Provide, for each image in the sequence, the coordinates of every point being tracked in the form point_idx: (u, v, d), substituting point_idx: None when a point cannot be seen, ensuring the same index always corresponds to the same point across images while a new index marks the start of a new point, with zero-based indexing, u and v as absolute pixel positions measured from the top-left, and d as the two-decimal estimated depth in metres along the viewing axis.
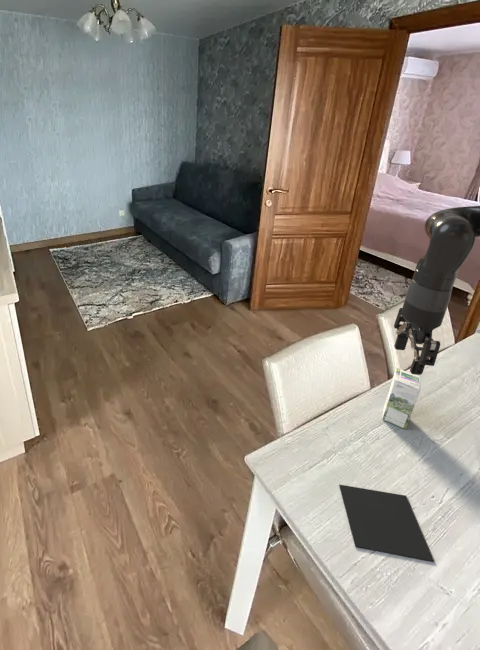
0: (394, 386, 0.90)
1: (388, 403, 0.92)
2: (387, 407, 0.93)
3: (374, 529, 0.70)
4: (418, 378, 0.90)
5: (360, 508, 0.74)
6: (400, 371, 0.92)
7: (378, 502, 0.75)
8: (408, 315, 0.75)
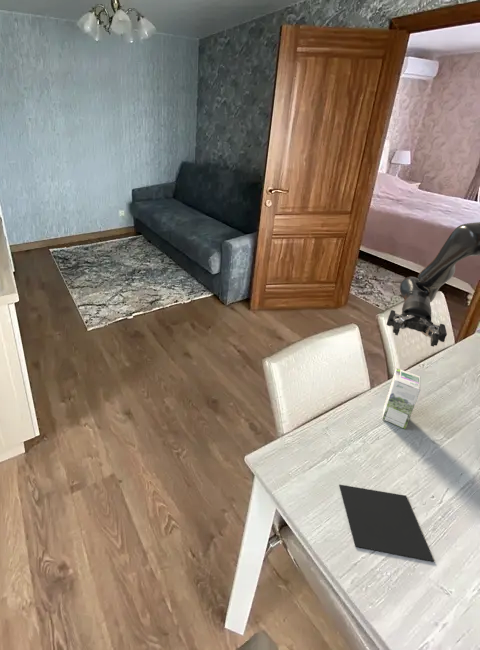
0: (394, 386, 0.90)
1: (388, 403, 0.92)
2: (387, 407, 0.93)
3: (374, 529, 0.70)
4: (418, 378, 0.90)
5: (360, 508, 0.74)
6: (400, 371, 0.92)
7: (378, 502, 0.75)
8: None
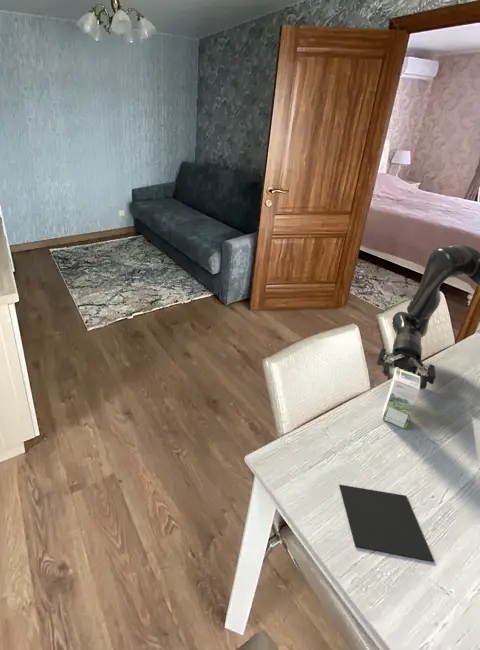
0: (394, 386, 0.90)
1: (388, 403, 0.92)
2: (387, 407, 0.93)
3: (374, 529, 0.70)
4: (418, 378, 0.90)
5: (360, 508, 0.74)
6: (400, 371, 0.92)
7: (378, 502, 0.75)
8: None
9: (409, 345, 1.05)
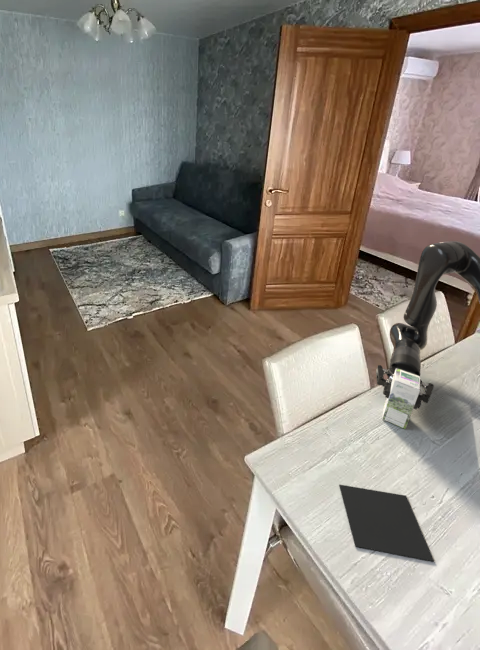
0: (394, 386, 0.90)
1: (388, 403, 0.92)
2: (387, 407, 0.93)
3: (374, 529, 0.70)
4: (418, 378, 0.90)
5: (360, 508, 0.74)
6: (400, 371, 0.92)
7: (378, 502, 0.75)
8: None
9: (407, 360, 0.99)
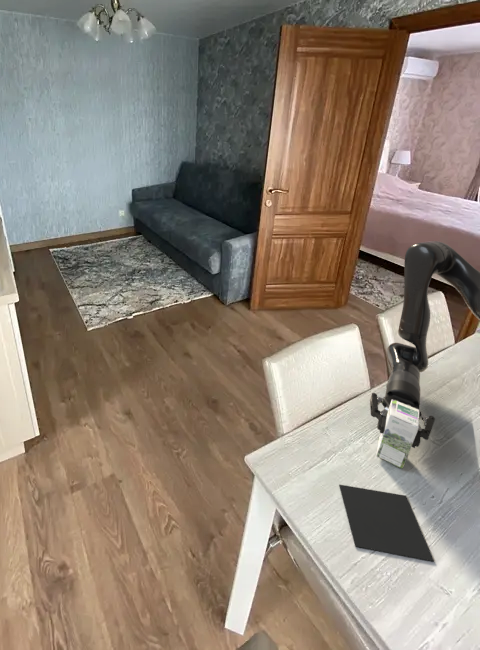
0: (389, 421, 0.79)
1: (383, 439, 0.82)
2: (382, 443, 0.82)
3: (374, 529, 0.70)
4: (417, 412, 0.79)
5: (360, 508, 0.74)
6: (396, 403, 0.81)
7: (378, 502, 0.75)
8: None
9: (405, 388, 0.88)
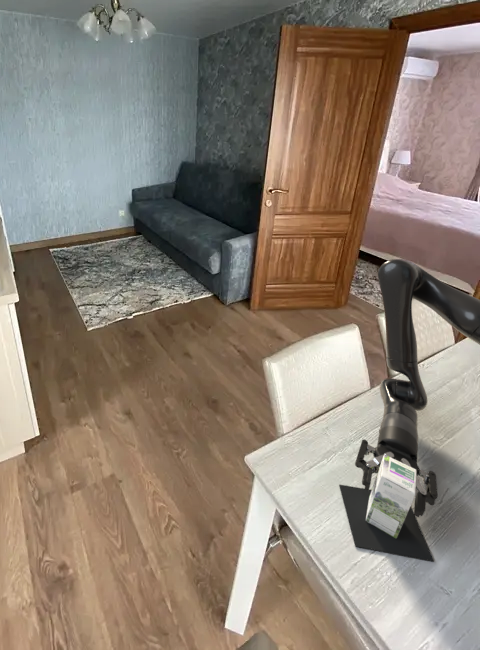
0: (380, 483, 0.66)
1: (373, 503, 0.69)
2: (372, 507, 0.69)
3: (374, 529, 0.70)
4: (413, 473, 0.66)
5: (360, 508, 0.74)
6: (389, 460, 0.68)
7: None
8: None
9: (400, 438, 0.75)
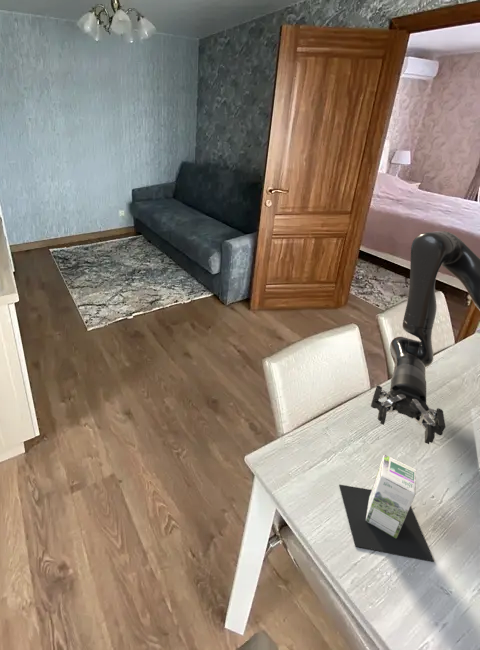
0: (380, 483, 0.66)
1: (373, 503, 0.69)
2: (372, 507, 0.69)
3: (374, 529, 0.70)
4: (413, 473, 0.66)
5: (360, 508, 0.74)
6: (389, 460, 0.68)
7: None
8: None
9: (411, 382, 0.85)
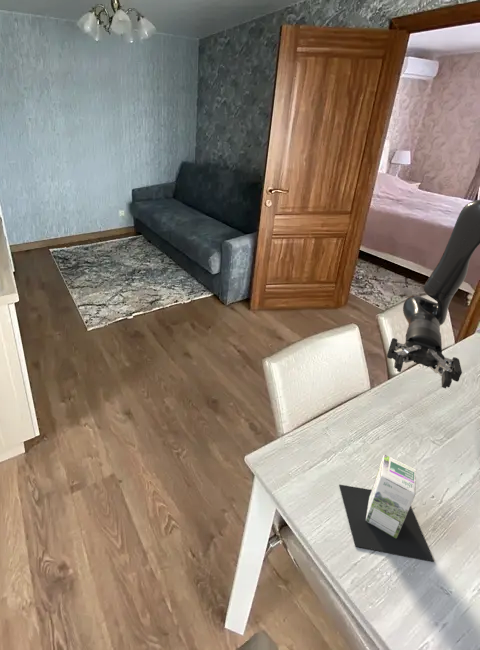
0: (380, 483, 0.66)
1: (373, 503, 0.69)
2: (372, 507, 0.69)
3: (374, 529, 0.70)
4: (413, 473, 0.66)
5: (360, 508, 0.74)
6: (389, 460, 0.68)
7: None
8: None
9: (427, 334, 0.85)
